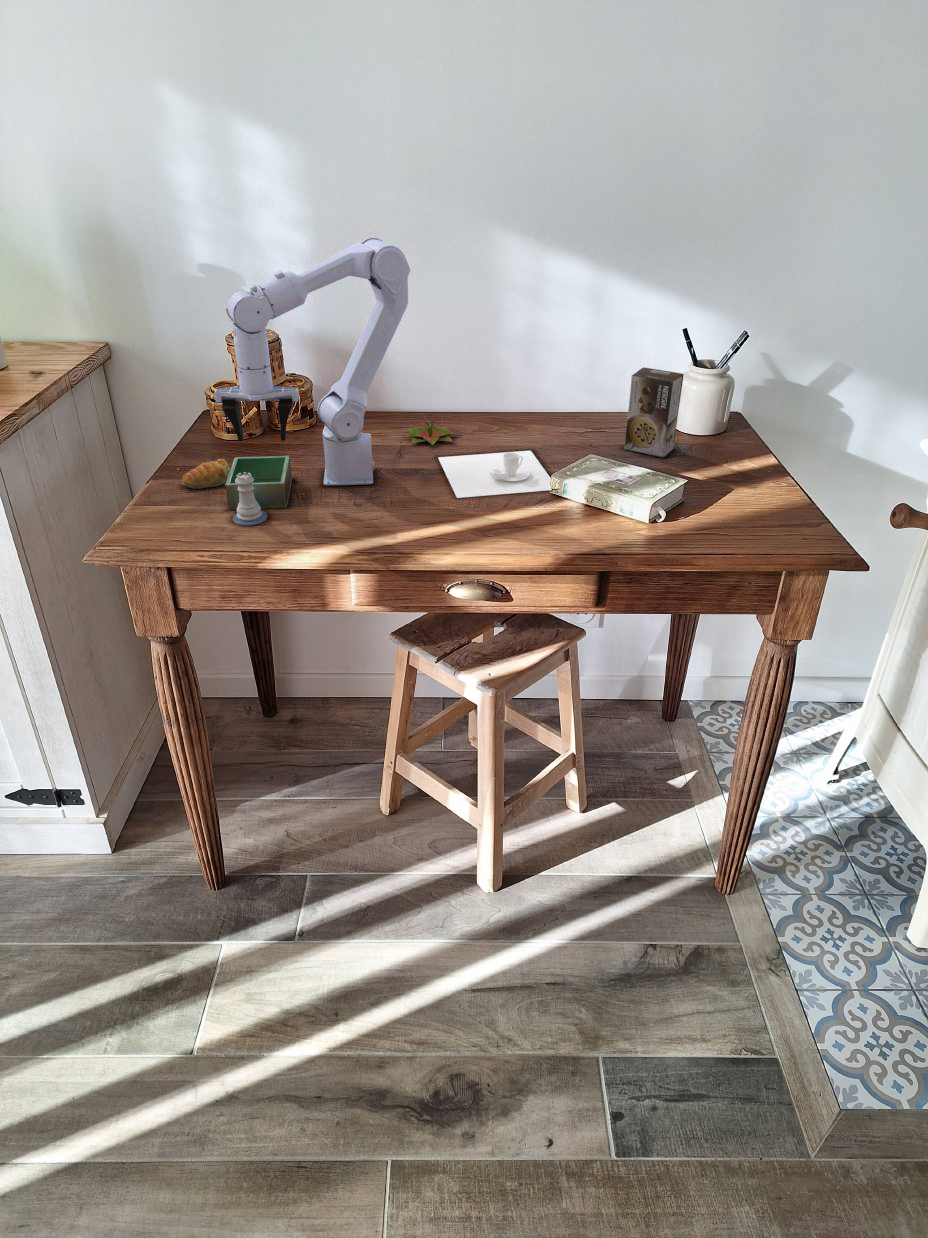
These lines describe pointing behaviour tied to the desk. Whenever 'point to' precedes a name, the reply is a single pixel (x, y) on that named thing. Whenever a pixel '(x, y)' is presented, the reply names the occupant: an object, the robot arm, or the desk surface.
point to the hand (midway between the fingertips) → (262, 438)
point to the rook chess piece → (247, 499)
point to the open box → (262, 480)
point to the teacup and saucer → (495, 474)
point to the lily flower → (430, 433)
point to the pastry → (207, 475)
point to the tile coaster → (249, 523)
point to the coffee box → (653, 411)
